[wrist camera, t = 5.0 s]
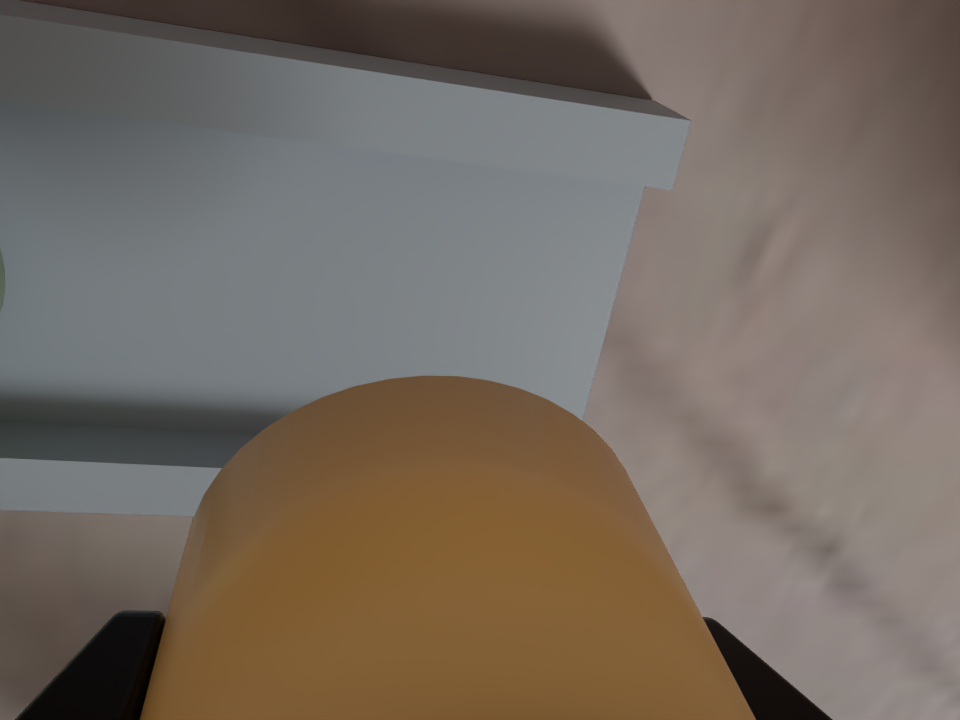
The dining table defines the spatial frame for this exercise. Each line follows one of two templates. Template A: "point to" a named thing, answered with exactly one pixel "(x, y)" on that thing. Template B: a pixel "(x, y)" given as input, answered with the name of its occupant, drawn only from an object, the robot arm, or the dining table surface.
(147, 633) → the robot arm
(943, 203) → the dining table surface
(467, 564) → the jar
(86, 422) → the lane
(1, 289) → the jar in lane
